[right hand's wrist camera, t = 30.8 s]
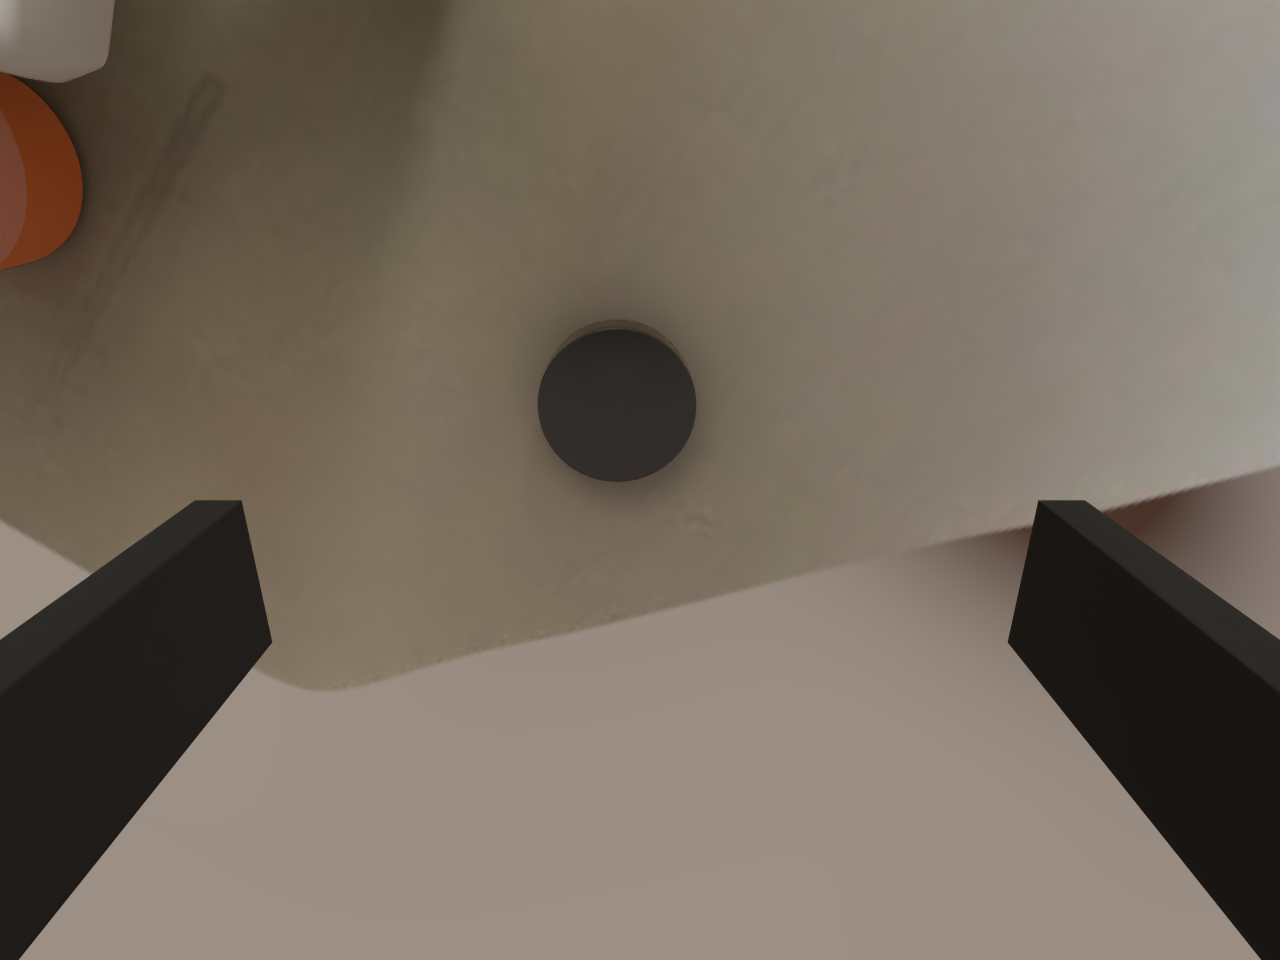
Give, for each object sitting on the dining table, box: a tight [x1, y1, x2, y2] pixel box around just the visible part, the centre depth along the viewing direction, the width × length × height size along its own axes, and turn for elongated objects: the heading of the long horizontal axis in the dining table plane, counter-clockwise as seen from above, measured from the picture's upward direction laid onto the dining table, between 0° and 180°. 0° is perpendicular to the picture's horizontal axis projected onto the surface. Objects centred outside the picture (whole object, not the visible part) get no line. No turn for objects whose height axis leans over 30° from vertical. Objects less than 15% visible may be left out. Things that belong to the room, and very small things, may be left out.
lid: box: [538, 320, 696, 482], centre depth 26 cm, size 5×5×2 cm
